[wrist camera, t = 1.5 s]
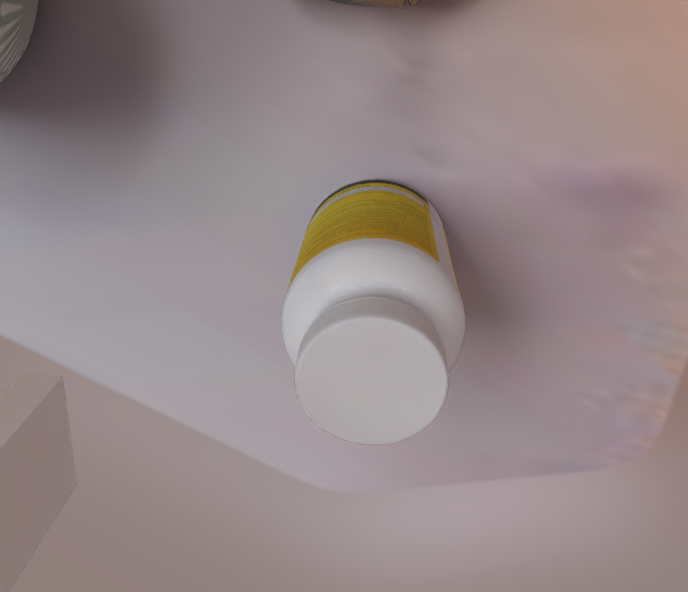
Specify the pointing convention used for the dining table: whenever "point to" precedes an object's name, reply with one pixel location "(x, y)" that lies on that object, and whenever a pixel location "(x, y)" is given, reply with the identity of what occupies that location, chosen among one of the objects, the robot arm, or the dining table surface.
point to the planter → (15, 31)
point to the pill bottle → (373, 314)
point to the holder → (378, 2)
